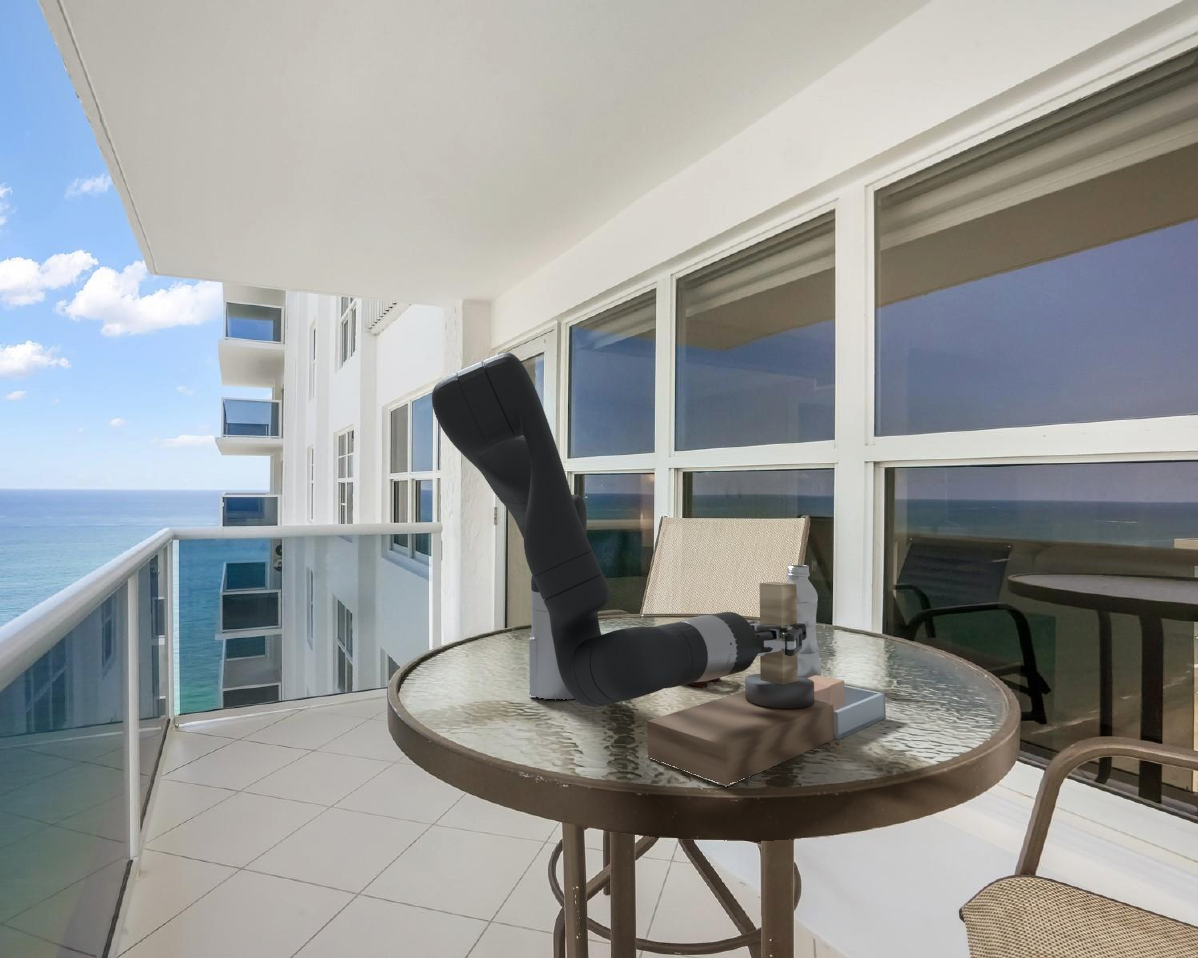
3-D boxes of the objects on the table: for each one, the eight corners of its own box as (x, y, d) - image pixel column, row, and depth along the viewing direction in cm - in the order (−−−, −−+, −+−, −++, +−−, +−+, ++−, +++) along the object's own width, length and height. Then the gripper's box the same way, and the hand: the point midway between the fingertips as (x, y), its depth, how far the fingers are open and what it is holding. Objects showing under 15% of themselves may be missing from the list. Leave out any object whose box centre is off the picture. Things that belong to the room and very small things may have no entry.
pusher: (789, 712, 83) (787, 587, 84) (731, 698, 90) (730, 582, 91) (827, 700, 89) (825, 583, 90) (770, 687, 96) (769, 579, 97)
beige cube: (829, 686, 94) (844, 680, 97) (800, 680, 97) (815, 675, 100) (830, 718, 94) (845, 711, 97) (801, 711, 97) (816, 705, 100)
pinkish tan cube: (813, 724, 90) (814, 691, 91) (783, 715, 94) (785, 683, 94) (829, 718, 94) (830, 686, 94) (800, 709, 97) (801, 678, 97)
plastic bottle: (824, 684, 114) (820, 567, 115) (783, 682, 116) (779, 567, 117) (819, 674, 121) (815, 564, 122) (780, 673, 122) (777, 564, 123)
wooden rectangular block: (726, 787, 72) (725, 745, 72) (647, 758, 81) (647, 720, 81) (834, 739, 87) (833, 704, 87) (757, 718, 96) (756, 686, 96)
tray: (838, 739, 87) (837, 712, 87) (755, 717, 96) (755, 693, 97) (885, 718, 95) (884, 693, 95) (805, 699, 105) (804, 677, 105)
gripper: (757, 621, 76) (836, 606, 87) (667, 609, 86) (747, 597, 97) (759, 688, 75) (838, 664, 86) (668, 668, 86) (749, 649, 97)
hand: (790, 629), depth 92 cm, fingers closed on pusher, 3 cm apart
